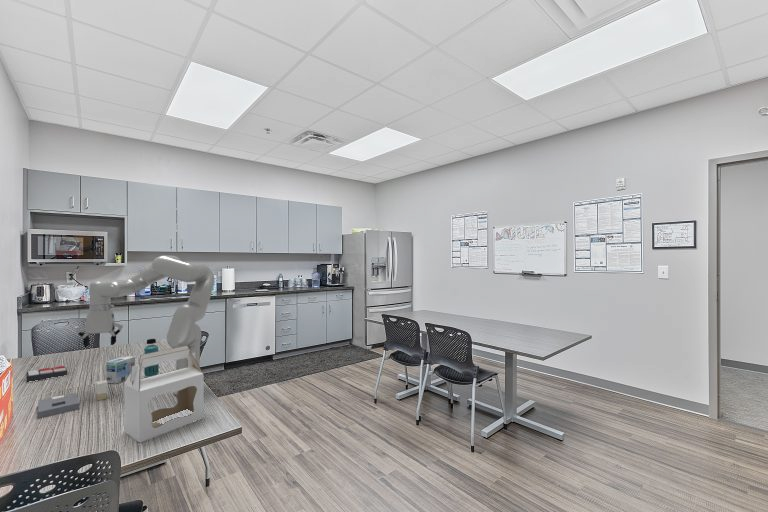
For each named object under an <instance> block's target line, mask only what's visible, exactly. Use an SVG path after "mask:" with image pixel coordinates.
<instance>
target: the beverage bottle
mask: <svg viewBox="0 0 768 512" xmlns="http://www.w3.org/2000/svg"><path fill="white" fill-rule="evenodd" d="M156 343H157V339H156V338H149V339H148V338H147V340H146V346H145V348H144V349H143V350H144V352H143V354H147V353H152V352H157V351H159V346H158V345H156ZM143 369H144V377H150V376H154V375H158V374H160V373H159V372H160V366H159V364H156V365H152V366H148V367H144V368H143Z"/></svg>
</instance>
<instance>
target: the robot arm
mask: <svg viewBox="0 0 768 512" xmlns="http://www.w3.org/2000/svg"><path fill="white" fill-rule="evenodd" d="M165 278H169V279H173V280H176V281H180V282H183V283H193V282H195V283H194V285H193V287H192V289H191V291H190V295H189V298H188V299H187V302H186V303H183V304H181V305H179V306H178V307H177V309H175V311H174V313H173V315H172V318H171V322H170V325H169V328H168V332H167V335H166V342H167V344H168V345H169V346H170V348H171V349H172V348H177V347H182V346H188V349H190V351H189V352H190V353H192V352H195V359H196V362H197V363H198V365H199V367H200V368H201V366H200V365H201V360H200V359H201V352H200V351H201V349H200V348H201V341H202V330H201V326H200V325H198V324H197V322H198V321H201V320H202V319H203V318H204V317H205V316H206V311H207V309H208V306H209V302H210V300H211V296H212V293H213V290H214V287H215V282H216V281H215V274H214V272H213V270H212V269H211V268H210V267H209V266H208V265H206V264H205V263H201V262H192V263H191V262H190V263H188V262H184V261H182V260H181V259H180V258H179V257H178V256H175V255H160V256H157V257H155V259H154V260H152V262H151V263H149V264H147V265H145V266H143V267H141V268H140V271H139V273H137V274H135V275H133V276H132V277H129V278H127V279H120V280H118V279H117V280H109V281H108V280H96V281H91V282H90V283H89V311H87V314H86V318H85V324H83V325H81V326H79V327H77V328H75V331H76V333H78V336H80V338H82V341H83V346H84V348H88V347H89V346H90V336H89V335H90V334H107V333H109V335H111V336H110V345H112V346H114V345H115V344H116V343H117V335H118V334H119V333H120V332H121V331H122V330H123V328H124V325H123V324H120V323H117V322H116V321H115V313H114V308H115V304H112V303H111V300H112V299H111V298H120V297H125V296H130V295H133V294H135V293H138V292H139V291H140V292H141V291H143V290H144V289H146V288H148V287H149V286H151V285H152V284H154V283H157V282H158V281H160V280H163V279H165ZM116 328H117V330H115V329H116ZM83 329H84V331H83ZM175 361H176V364H175V365H176V369H175V370H177V369H181V368H185V367H187V358H184V359H183V358H182V359H178V360H175ZM193 367H194V366H193ZM177 393H178V391H176V392H172V394H173V395H174V396H177Z"/></svg>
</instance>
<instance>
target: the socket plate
mask: <svg viewBox="0 0 768 512" xmlns="http://www.w3.org/2000/svg"><path fill="white" fill-rule="evenodd" d="M78 397H79V396H78V395H77V392H72V393H67V394H63V395H59V396H53V397H48V398H43V399H40V400H38V405H37V407H38V409H37V417H38V418H39V419H42V417H43V418H47V417H50V416H55V415H60V414H63V413H68V412H73V411H76V410H80V401H79V398H78Z"/></svg>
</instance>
